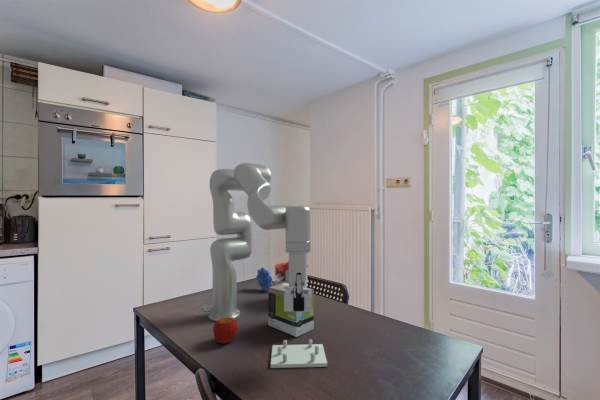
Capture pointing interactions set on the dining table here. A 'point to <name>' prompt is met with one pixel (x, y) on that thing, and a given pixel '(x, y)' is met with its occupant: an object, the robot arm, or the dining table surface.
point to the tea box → (288, 313)
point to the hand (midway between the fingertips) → (298, 306)
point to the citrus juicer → (283, 273)
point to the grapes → (264, 279)
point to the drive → (289, 300)
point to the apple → (225, 330)
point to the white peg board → (298, 355)
